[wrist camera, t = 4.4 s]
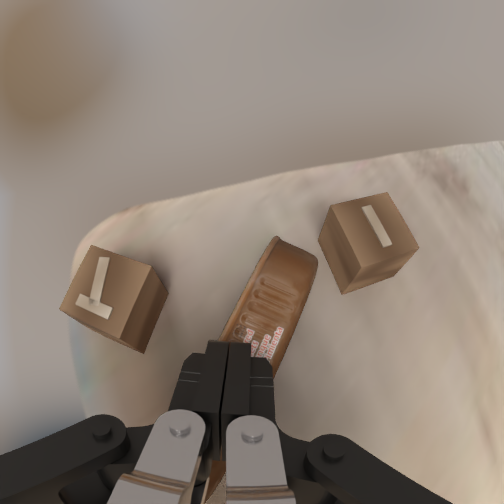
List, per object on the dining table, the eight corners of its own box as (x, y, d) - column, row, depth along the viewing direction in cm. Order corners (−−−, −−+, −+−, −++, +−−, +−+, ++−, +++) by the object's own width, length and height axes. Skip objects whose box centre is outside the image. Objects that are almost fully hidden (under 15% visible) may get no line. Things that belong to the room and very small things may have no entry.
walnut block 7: (168, 294, 22) (150, 264, 18) (144, 353, 20) (118, 337, 16) (115, 274, 22) (90, 243, 18) (90, 329, 20) (57, 308, 16)
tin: (266, 273, 23) (275, 198, 15) (308, 290, 22) (338, 223, 14) (166, 469, 16) (115, 501, 9) (211, 492, 16) (187, 540, 8)
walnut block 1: (368, 226, 24) (387, 190, 20) (393, 276, 22) (420, 246, 18) (317, 240, 24) (331, 203, 20) (341, 295, 22) (362, 266, 18)
